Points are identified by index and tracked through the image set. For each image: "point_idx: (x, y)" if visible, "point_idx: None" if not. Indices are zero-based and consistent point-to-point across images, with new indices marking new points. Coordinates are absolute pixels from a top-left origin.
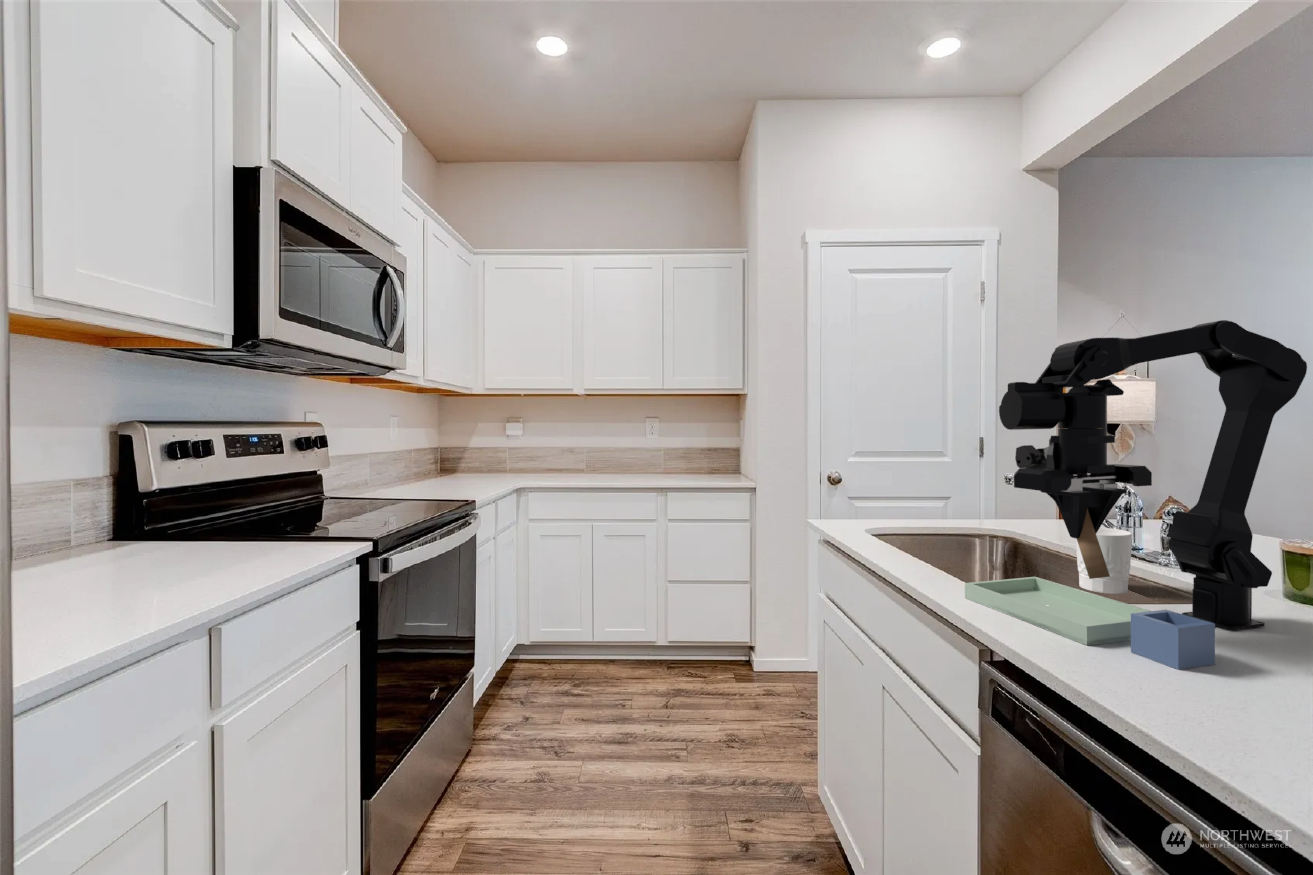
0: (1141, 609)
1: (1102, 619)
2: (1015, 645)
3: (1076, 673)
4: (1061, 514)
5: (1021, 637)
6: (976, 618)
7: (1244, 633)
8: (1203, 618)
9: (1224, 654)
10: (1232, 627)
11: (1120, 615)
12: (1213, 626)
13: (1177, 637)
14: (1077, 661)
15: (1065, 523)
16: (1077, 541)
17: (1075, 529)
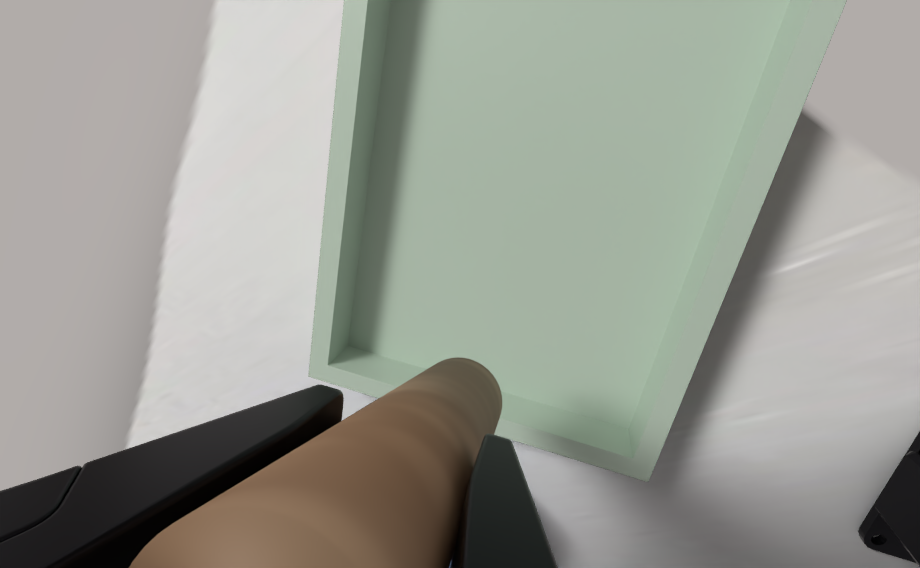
0: (659, 400)
1: (575, 287)
2: (175, 253)
3: (174, 410)
4: (77, 470)
5: (233, 224)
6: (239, 22)
7: (869, 556)
8: (886, 486)
9: (580, 553)
10: (868, 545)
11: (676, 306)
12: None
13: None
14: (227, 384)
15: (207, 428)
16: (374, 401)
17: None
